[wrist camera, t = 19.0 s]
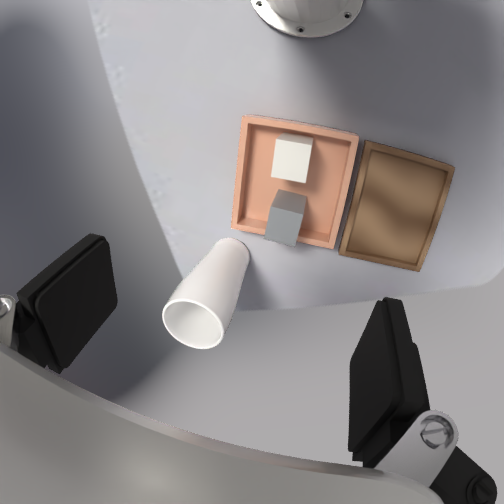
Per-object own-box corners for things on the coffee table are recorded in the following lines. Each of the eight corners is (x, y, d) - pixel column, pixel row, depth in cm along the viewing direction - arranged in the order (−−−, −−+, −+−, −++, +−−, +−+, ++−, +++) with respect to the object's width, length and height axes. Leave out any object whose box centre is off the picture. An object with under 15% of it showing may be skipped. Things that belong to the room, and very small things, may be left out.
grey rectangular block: (278, 189, 37) (270, 206, 31) (306, 195, 36) (303, 214, 31) (272, 217, 39) (263, 239, 33) (299, 224, 38) (294, 247, 33)
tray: (364, 139, 32) (366, 141, 31) (451, 165, 31) (455, 167, 30) (338, 250, 39) (338, 254, 38) (417, 267, 38) (419, 271, 37)
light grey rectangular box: (283, 131, 33) (276, 139, 28) (313, 137, 33) (311, 145, 28) (278, 163, 35) (270, 176, 30) (308, 168, 35) (305, 183, 30)
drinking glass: (266, 255, 42) (238, 331, 29) (234, 282, 45) (199, 358, 32) (228, 221, 41) (182, 286, 28) (198, 252, 44) (150, 320, 31)
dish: (248, 114, 34) (242, 115, 31) (356, 133, 32) (359, 136, 29) (237, 218, 40) (230, 228, 38) (332, 238, 39) (333, 249, 36)
